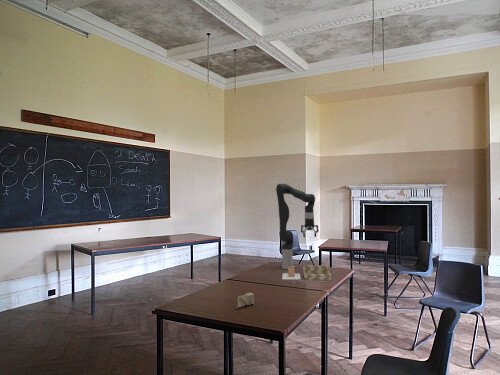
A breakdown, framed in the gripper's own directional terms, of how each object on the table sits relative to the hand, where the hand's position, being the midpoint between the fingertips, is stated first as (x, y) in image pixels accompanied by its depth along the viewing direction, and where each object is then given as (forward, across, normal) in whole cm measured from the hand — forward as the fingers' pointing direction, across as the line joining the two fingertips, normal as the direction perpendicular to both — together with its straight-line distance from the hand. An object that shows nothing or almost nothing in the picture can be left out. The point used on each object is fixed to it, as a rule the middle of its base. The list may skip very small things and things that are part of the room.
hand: (309, 237), depth 303 cm
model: (+30, +42, +94) cm, 107 cm away
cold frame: (+29, -4, +14) cm, 33 cm away
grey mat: (+29, +16, +14) cm, 36 cm away
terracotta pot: (+29, +16, +14) cm, 36 cm away
